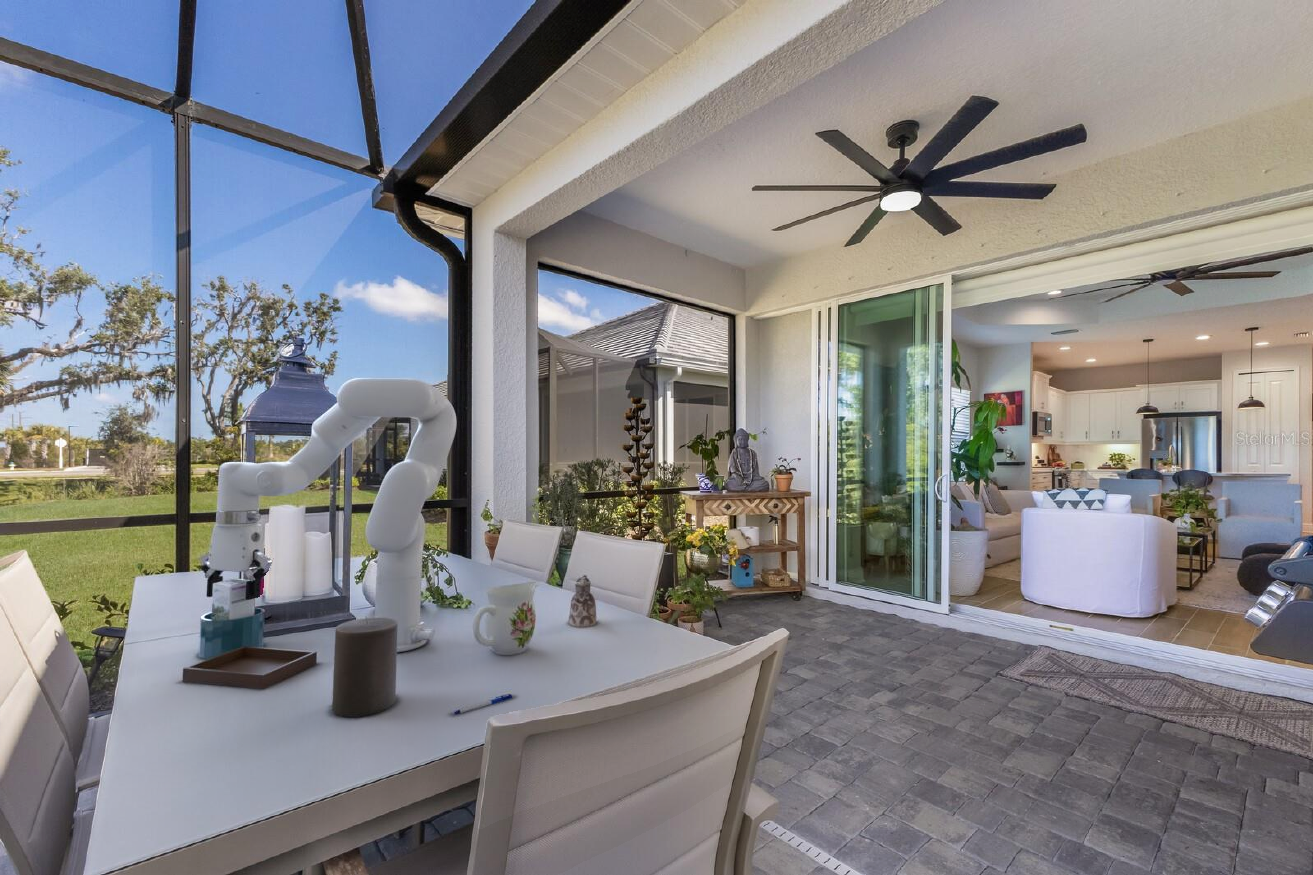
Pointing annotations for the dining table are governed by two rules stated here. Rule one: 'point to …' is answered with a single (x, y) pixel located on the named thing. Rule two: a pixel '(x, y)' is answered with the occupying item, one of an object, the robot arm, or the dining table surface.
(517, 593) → the pitcher
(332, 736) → the dining table surface
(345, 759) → the dining table surface
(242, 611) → the syrup box
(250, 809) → the dining table surface
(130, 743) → the dining table surface
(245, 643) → the cup
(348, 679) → the pillar candle
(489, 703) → the ballpoint pen
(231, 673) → the tray
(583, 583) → the figurine
